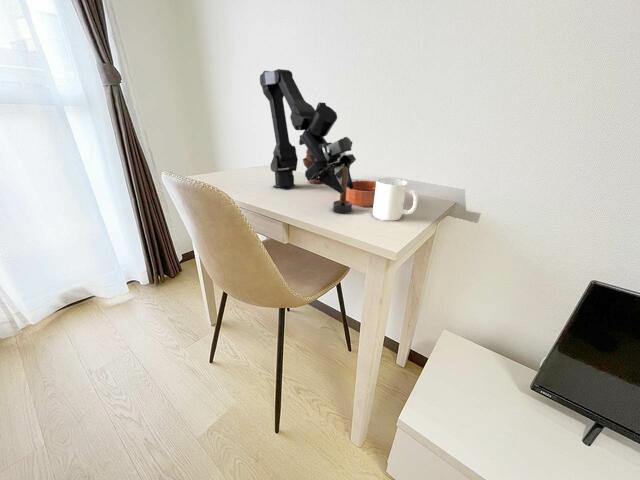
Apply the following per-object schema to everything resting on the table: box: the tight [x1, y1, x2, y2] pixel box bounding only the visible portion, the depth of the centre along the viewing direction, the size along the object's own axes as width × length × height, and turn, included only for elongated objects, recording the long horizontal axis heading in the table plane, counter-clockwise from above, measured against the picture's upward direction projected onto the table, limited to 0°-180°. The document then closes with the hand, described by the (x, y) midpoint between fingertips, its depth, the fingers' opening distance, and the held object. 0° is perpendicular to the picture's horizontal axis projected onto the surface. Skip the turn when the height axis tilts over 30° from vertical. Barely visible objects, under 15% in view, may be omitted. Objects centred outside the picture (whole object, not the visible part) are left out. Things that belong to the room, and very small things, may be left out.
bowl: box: [346, 179, 376, 208], centre depth 87 cm, size 14×14×5 cm
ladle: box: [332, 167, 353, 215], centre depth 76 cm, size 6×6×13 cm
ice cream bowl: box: [302, 148, 323, 185], centre depth 105 cm, size 11×11×15 cm
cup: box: [372, 177, 419, 222], centre depth 72 cm, size 8×12×10 cm
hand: (347, 190), depth 75 cm, fingers open, 5 cm apart
